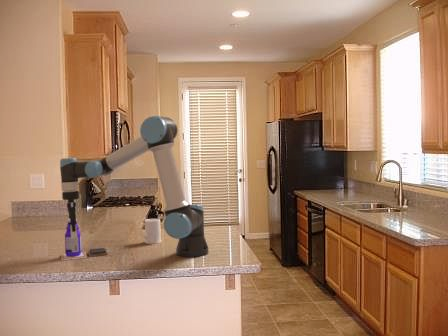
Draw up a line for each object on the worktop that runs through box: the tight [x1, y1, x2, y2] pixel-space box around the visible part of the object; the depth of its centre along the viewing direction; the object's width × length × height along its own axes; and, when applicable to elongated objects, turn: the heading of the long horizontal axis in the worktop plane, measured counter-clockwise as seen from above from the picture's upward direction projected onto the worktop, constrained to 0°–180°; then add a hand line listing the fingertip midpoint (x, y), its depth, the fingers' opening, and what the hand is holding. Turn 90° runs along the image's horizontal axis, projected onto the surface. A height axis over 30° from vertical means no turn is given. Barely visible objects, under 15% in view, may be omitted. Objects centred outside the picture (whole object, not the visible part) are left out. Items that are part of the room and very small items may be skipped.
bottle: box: [64, 218, 82, 256], centre depth 213 cm, size 7×6×17 cm
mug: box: [139, 218, 162, 245], centre depth 239 cm, size 12×8×12 cm
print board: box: [60, 251, 88, 261], centre depth 214 cm, size 11×11×1 cm
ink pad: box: [87, 247, 108, 258], centre depth 218 cm, size 9×8×2 cm
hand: (73, 235), depth 213 cm, fingers open, 13 cm apart
